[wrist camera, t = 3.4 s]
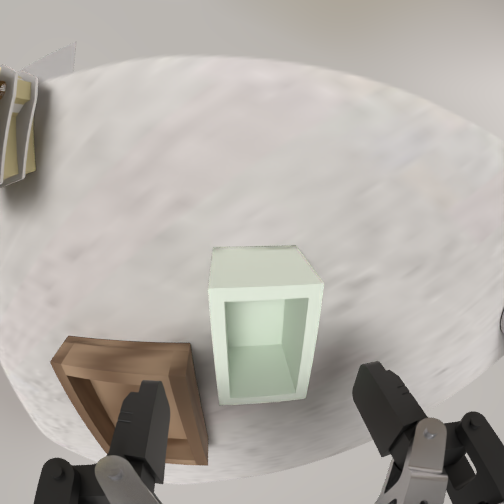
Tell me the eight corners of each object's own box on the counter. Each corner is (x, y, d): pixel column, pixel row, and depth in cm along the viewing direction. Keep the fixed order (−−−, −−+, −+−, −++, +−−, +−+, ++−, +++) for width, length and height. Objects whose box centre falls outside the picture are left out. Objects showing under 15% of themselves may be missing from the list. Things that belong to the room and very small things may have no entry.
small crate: (295, 245, 16) (324, 283, 11) (288, 344, 18) (305, 398, 13) (213, 247, 15) (207, 288, 10) (219, 348, 17) (219, 405, 13)
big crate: (190, 343, 17) (185, 376, 14) (208, 438, 21) (207, 465, 18) (68, 335, 16) (50, 362, 13) (113, 429, 20) (106, 454, 17)
